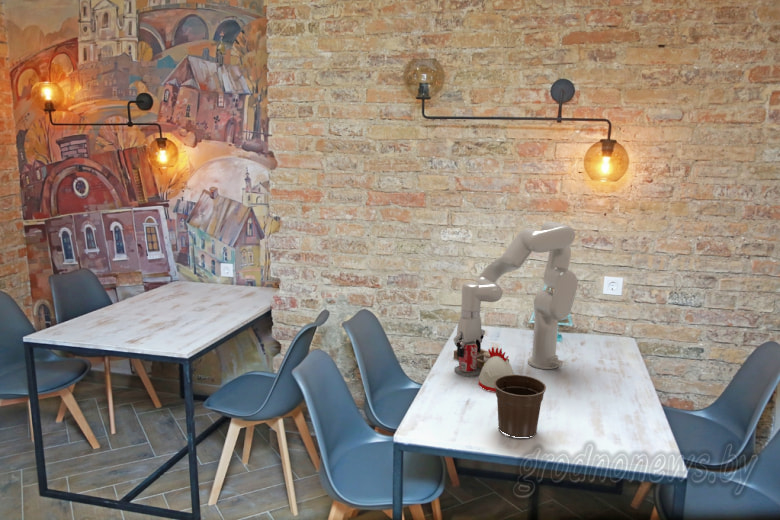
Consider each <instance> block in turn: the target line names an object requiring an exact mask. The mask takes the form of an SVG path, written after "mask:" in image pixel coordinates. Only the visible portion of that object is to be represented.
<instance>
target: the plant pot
mask: <svg viewBox="0 0 780 520" xmlns="http://www.w3.org/2000/svg"><path fill="white" fill-rule="evenodd" d="M494 386H495V388H496V392H495V397H496V403H497V424H498V426H499V427H498V430H499V429H500V430H501V431H502V432H504V433H506V434H508V435H510V436H509V437H511V436H515V437H530V436H533V435H534V436H535V435H536V434H537V431H538V425H539V424H538V423H539V418H540V412H541V406H542V402H543V400H544V394H545V392H546V389H547V385H546V383H544V382H543V381H541V380H540V379H537V378H535V377H532V376H528V375H523V374H514V375H506V376H502V377H499V378H497V379H496V380H495V381H494ZM534 436H533V437H534Z"/></svg>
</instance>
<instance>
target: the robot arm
mask: <svg viewBox="0 0 780 520" xmlns="http://www.w3.org/2000/svg"><path fill="white" fill-rule="evenodd" d="M575 239H576V232H575V230H574V229H573V228H572V226H569V225H566V224H563V223H560V222H556V221H551V220H550V221H545V222H544V223H543V224H542V226H541V230H538V229H536V228H532V227H525V228H523V229H521V230H520V231H519V233H518V234H517V235H516V236H515V237H514V239H513V240H512V241H511V243H510V245H509V246H508V247H507V248H506V250H505V251H504V253H503V254H501V256H500V257H498V258H496V259H495V260H494V261H492V262H491V263H490V264H489V265H487V266H486V267H485V268H484V270H483V271H482V272H481V273H480V275H478V277H477V279H476V281H467V282H464V283H463V284H462V287H461V309H460V317H459V318H458V324H457V328H456V329H457V331H456V335H455V336H454V337H453V339H452V340H453V343H454V345H455V347H456V350H457V356H458V357H461V358H464V348H463V347H464V345H465V343H468V342H472V341H476V345H477V352H480V349H482V348H481V345H482V344H481V343H482V342H483V339H484V337H485V334H486V330H485V329H483V328H482V317H481V311H482V310H481V307H482V306H481V305H482V304H481V303H482V302H486V303H496V302H498V301H500V300H501V299H502V297H503V290H502V287H501V286H500V285H498V284H497V283H496V282H497V280H498V279H500V278H501V277H502V276H503V275H505V274H507V273H510V272H513V271H514V272H515V271H517V270H519V269H520V268H521V267H522V266H523V264H524V263H525V262H526V261H527V259H528V258H529V256H530V255H531V254H532V252H533V253H539V254H540V253H546V252H547V253H548V256H547V257H548V258H547V261H546V265H545V269H544V272H543V277H542V279H543V280H542V281H543V283H544V285H545V286H547V287H548V288H550V289H552V290H548V289H542V290H540V291H538V292H537V293H536V294H535V296H534V299H533V310H534V322H533V323H534V324H533V338H532V351H531V352H532V353H531V354H532V355H531V356H530V357H529V358H528V359H527V364H529V365H530V366H531V367H534V368H535V369H540V370H541V369H542V370H554V369H556V368H561V367H562V366H563V363H564V362H563V360H561V359H559V358H558V357H559V356H558V355H557V346H558V345H557V343H558V342H557V341H558V331H559V321H563V320H565V319H566V318H568V316H569V315H570V314H571V311H572V309H573V305H574V302H575V297H576V294H577V291H578V277H577V275H576V274H575V273H574V272H573V271H572V270H570V269H569V266H570V260H571V257H572V255H571V254H572V251H571V250H572V249H571V245H572V244H573V243H574V242H575ZM463 340H464V341H463ZM461 343H462V344H461Z"/></svg>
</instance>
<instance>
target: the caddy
mask: <svg viewBox="0 0 780 520" xmlns="http://www.w3.org/2000/svg"><path fill="white" fill-rule="evenodd" d="M484 352H489V351H488V350H486V349H483V348H481V349H480V352H477V365H476V367H478V368H480V369H481V370H482V368H483V366H484V363H486V362H485V361H484ZM453 359H454V360H456V361H459V357H458V356H457V349H454V350H453ZM507 361H508V362H509V363H510V359H509V358H508V359H507Z"/></svg>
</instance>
